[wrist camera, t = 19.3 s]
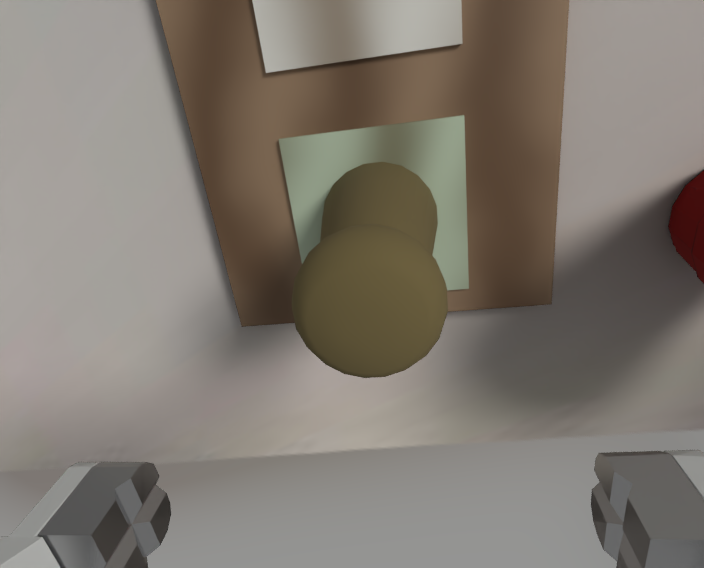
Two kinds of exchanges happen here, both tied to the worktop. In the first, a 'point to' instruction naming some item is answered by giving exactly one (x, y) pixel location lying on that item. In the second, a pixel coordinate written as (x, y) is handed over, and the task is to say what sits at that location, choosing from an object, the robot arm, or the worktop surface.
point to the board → (376, 131)
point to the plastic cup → (690, 224)
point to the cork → (373, 275)
